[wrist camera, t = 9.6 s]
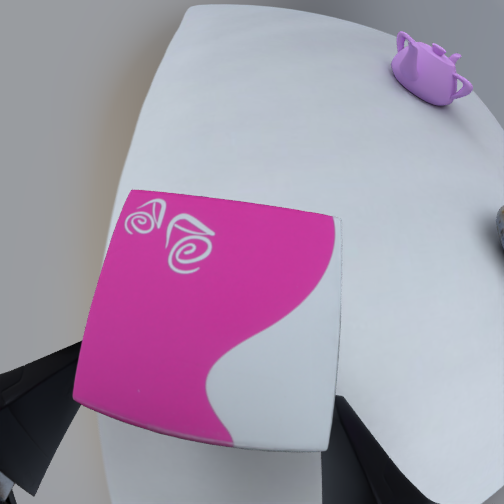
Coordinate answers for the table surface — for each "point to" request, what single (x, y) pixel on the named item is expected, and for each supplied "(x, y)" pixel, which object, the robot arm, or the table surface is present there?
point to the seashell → (501, 224)
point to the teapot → (428, 71)
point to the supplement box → (217, 323)
